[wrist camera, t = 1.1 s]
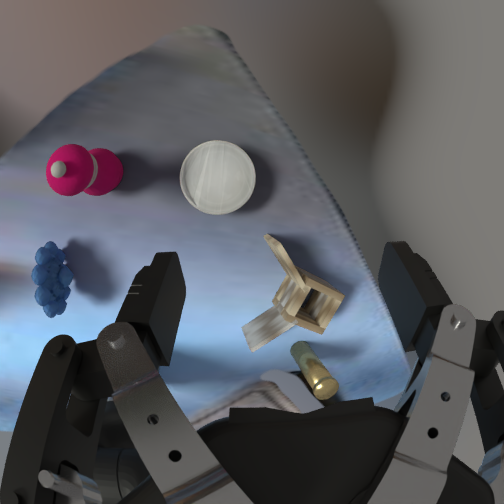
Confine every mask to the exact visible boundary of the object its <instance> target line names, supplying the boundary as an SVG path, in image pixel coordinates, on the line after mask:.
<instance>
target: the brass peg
mask: <svg viewBox="0 0 504 504" xmlns="http://www.w3.org/2000/svg"><path fill="white" fill-rule="evenodd" d="M291 355H292V356H293V358H294V359H295V361H296V363H297V364H298V366H299V368H300V369H301V371H302V373H303V374H304V376H305V378H306V379H307V381H308V382H309V384H310V386H311V387H312V389H313V393H314V395H315V396H316V398H318V399H321V400H324V399H328V398H330V397H332V396H333V395H334V394H335V393H336V392H337V390H338V388H339V384H338V382H337V381H336V379H335V378H334V377H332V376H331V375H330V373H329V372H328V370H327V369H326V368H325V366H324V365H323V364H322V362H321V361H320V360H319V358H318V357H317V356H316V354H315V353H314V351H313V350H312V349H311V347H310V346H309V345H308V343H307V342H305V341H298V342H296V343H295V344H294V345H293V346H292V347H291Z"/></svg>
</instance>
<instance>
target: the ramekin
mask: <svg viewBox="0 0 504 504" xmlns="http://www.w3.org/2000/svg"><path fill="white" fill-rule="evenodd" d="M255 183H256V173H255V168H254V165H253V163H252V161H251V159H250V157H249V156H248V155H247V153H246V152H245V151H244V150H242V149H241V148H240V147H238V146H237V145H235V144H233V143H230V142H227V141H220V140H214V141H208V142H205V143H202V144H200V145H198V146H197V147H195V148H194V149H193V150H192V151H191V152H190V153H189V154H188V155H187V156H186V158H185V159H184V161H183V164H182V166H181V170H180V185H181V189H182V192H183V194H184V196H185V197H186V199H187V200H188V201H189V202H190V204H192V205H193V206H194V207H195V208H197V209H198V210H200V211H202V212H204V213H208V214H214V215H222V214H228V213H231V212H233V211H235V210H237V209H239V208H241V207H242V206H243V205H244V204H245V203H246V202H247V201H248V200H249V199H250V197H251V195H252V193H253V191H254V187H255Z"/></svg>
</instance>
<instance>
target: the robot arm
mask: <svg viewBox="0 0 504 504" xmlns="http://www.w3.org/2000/svg"><path fill="white" fill-rule="evenodd" d="M378 282H379V287H380V290H381V292H382V295H383V297H384V299H385V302H386V304H387V307H388V309H389V312H390V314H391V317H392V319H393V322H394V324H395V327H396V329H397V332H398V334H399V337H400V340H401V342H402V345H403V348H404V351H405V352H409V351H414V350H416V353H417V355H418V358H417V360H416V362H415V365H414V367H413V370H412V373H411V375H410V377H409V380H408V382H407V385H406V387H405V389H404V392H403V394H402V396H401V398H400V400H399V402H398V404H397V406H396V407H395V409H394V411H393V410H390V409H387V408H383V407H378V406H374V402H373V398H372V397H370V398H363V399H357V400H350V401H342V402H338V403H335V404H332V405H329V406H326V407H324V408H321V409H318V410H315V411H312V412H309V413H304V414H301V413H294V412H288V411H282V410H277V409H271V408H266V407H263V408H230V412H229V417H225V418H221V419H218V420H215V421H213V422H211V423H209V424H207V425H205V426H203V427H202V428H200V429H199V430H197V431H196V430H195V429H194V428H193V426H192V425H191V423H190V422H189V420H188V419H187V417H186V416H185V414H184V413H183V411H182V410H181V408H180V407H179V405H178V404H177V402H176V401H175V399H174V397H173V396H172V394H171V393H170V391H169V389H168V388H167V386H166V384H165V383H164V381H163V379H162V378H161V376H160V374H159V367H160V366H169V365H170V361H171V356H172V352H173V347H174V343H175V339H176V334H177V330H178V326H179V322H180V318H181V314H182V309H183V305H184V301H185V297H186V285H185V281H184V277H183V273H182V269H181V265H180V261H179V257H178V254H177V253H176V252H159V253H156V254H155V256H154V259H153V261H152V263H151V265H150V266H144V267H143V268H142V269H141V270H140V271H139V272H138V273H137V274H136V276H135V278H134V280H133V282H132V284H131V285H132V286H130V289H129V291H128V295H126V298H125V300H124V302H123V304H122V307H121V309H120V311H119V314H118V316H117V318H116V321H115V323H112V324H110V325H108V326H106V327H105V328H104V329H103V330H102V331H101V332H100V333H99V335H98V337H97V339H96V340H92V341H87V342H82V343H78V344H76V342H75V341H74V339H73V338H72V337H71V336H69V335H58V336H56V337H54V338H52V339H51V340H50V341H49V342H48V343H47V344H46V346H45V347H44V349H43V352H42V354H41V356H40V359H39V361H38V363H37V366H36V368H35V371H34V373H33V376H32V378H31V381H30V384H29V386H28V389H27V392H26V395H25V397H24V400H23V403H22V406H21V409H20V412H19V415H18V419H17V422H16V425H15V428H14V432H13V436H12V439H11V443H10V447H9V451H8V455H7V459H6V463H5V468H4V473H3V478H2V483H1V489H0V503H1V504H504V390H503V387H502V384H501V381H500V379H499V376H498V374H497V371H496V369H495V367H496V366H497V365H498V363H499V362H500V364H501V366H502V369H503V372H504V311H498V312H496V313H495V314H494V316H493V318H492V319H491V321H485V320H478V319H475V318H474V316H473V314H472V313H471V312H470V311H469V310H468V309H466V308H465V307H463V306H461V305H456V304H453V303H452V301H451V300H450V298H449V296H448V295H447V293H446V291H445V290H444V288H443V287H442V285H441V283H440V282H439V280H438V279H437V277H436V275H435V273H434V272H432V269H431V267H430V266H429V264H428V263H427V261H426V260H425V259H423V258H422V257H421V256H420V255H418V254H417V253H413V251H412V250H411V248H410V247H409V245H408V244H407V243H406V242H405V241H399V242H398V241H397V242H387V243H386V245H385V248H384V253H383V257H382V261H381V266H380V270H379V275H378ZM70 394H71V395H70ZM69 397H70V399H69ZM469 398H471V401H472V404H473V408H474V411H475V415H476V418H477V422H478V426H479V430H480V434H481V438H482V442H483V446H484V451H485V456H484V459H483V462H482V465H481V466H480V468H479V470H478V474H477V473H476V472H475V471H473V470H472V469H471V468H469V467H468V466H467V465H466V464H464V463H463V462H462V461H460V460H459V459H458V458H456V457H455V456H454V455H453V454H452V453H453V451H454V448H455V445H456V442H457V439H458V436H459V433H460V430H461V427H462V423H463V420H464V416H465V413H466V409H467V405H468V402H469ZM68 401H69V402H68ZM67 404H68V405H67ZM66 408H67V409H66Z"/></svg>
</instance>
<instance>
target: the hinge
mask: <svg viewBox="0 0 504 504" xmlns="http://www.w3.org/2000/svg"><path fill="white" fill-rule="evenodd" d="M263 237H264V238H265V240H266V241H267V243H268V245H269V246H270V248H271V250H272V251H273V253H274V254H275V256H276V258H277V259H278V261H279V263H280V264H281V266H282V267H283V269H284V271H285V272H286V274H287V275H286V277H285V279H284V281H283V282H282V284H281V286H280V288H279V290H278V291H277V293H276V295H275V297H274V299H273V300H272V302H273V304H274V305H275V306H273V307H272V308H270V309H269V310H267V311H266V312H264V313H263V314H261V315H259V316H258V317H256V318H255V319H253V320H252V321H250V322H249V323H247V324H246V325H244V326H243V327H241V328H242V330H243V333H244V336H245V338H246V341H247V344H248V346H249V349H250V350H251V352H252V353H253V352H254V351H256V350H257V349H259V348H260V347H262V346H264V345H265V344H267V343H268V342H270V341H271V340H273V339H275V338H276V337H278V336H279V335H281V334H282V333H284V332H285V331H287V330H288V329H290V328H291V327H293V326H294V325H298V326H300V327H303V328H306V329H308V330H311V331H313V332H316V333H319V334H321V335H322V334H323V332H324V330H325V329H326V327H327V326H328V324H329V322H330V321H331V319H332V317H333V316H334V314H335V312H336V311H337V309H338V307H339V305H340V304H341V302H342V300H343V299H344V297H345V295H344V294H342V293H341V292H340V291H338V290H337V289H336V288H334V287H333V286H332V285H330V284H329V283H328V282H326V281H325V280H323V279H321V278H319V277H317V276H315V275H313V274H311V273H309V272H307V271H305V270H303V269H301V268H299V267H297V266H295V265H294V264H293V263H292V261H291V259H290V258H289V256H288V254H287V253H286V251H285V249H284V248H283V246H282V244H281V243H280V242H278V241H277V240H276V239H274V238H273V237H271V236H270V235H268V234H266V235H264V236H263ZM311 288H313V289H314V291H313V293H312V295H311V296H310V298H309V300H308V302H307V303H306V305H305V307H304V308H302V307H301V305H302V303H303V301H304V300H305V298H306V296H307V295H308V293H309V291H310V289H311Z"/></svg>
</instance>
